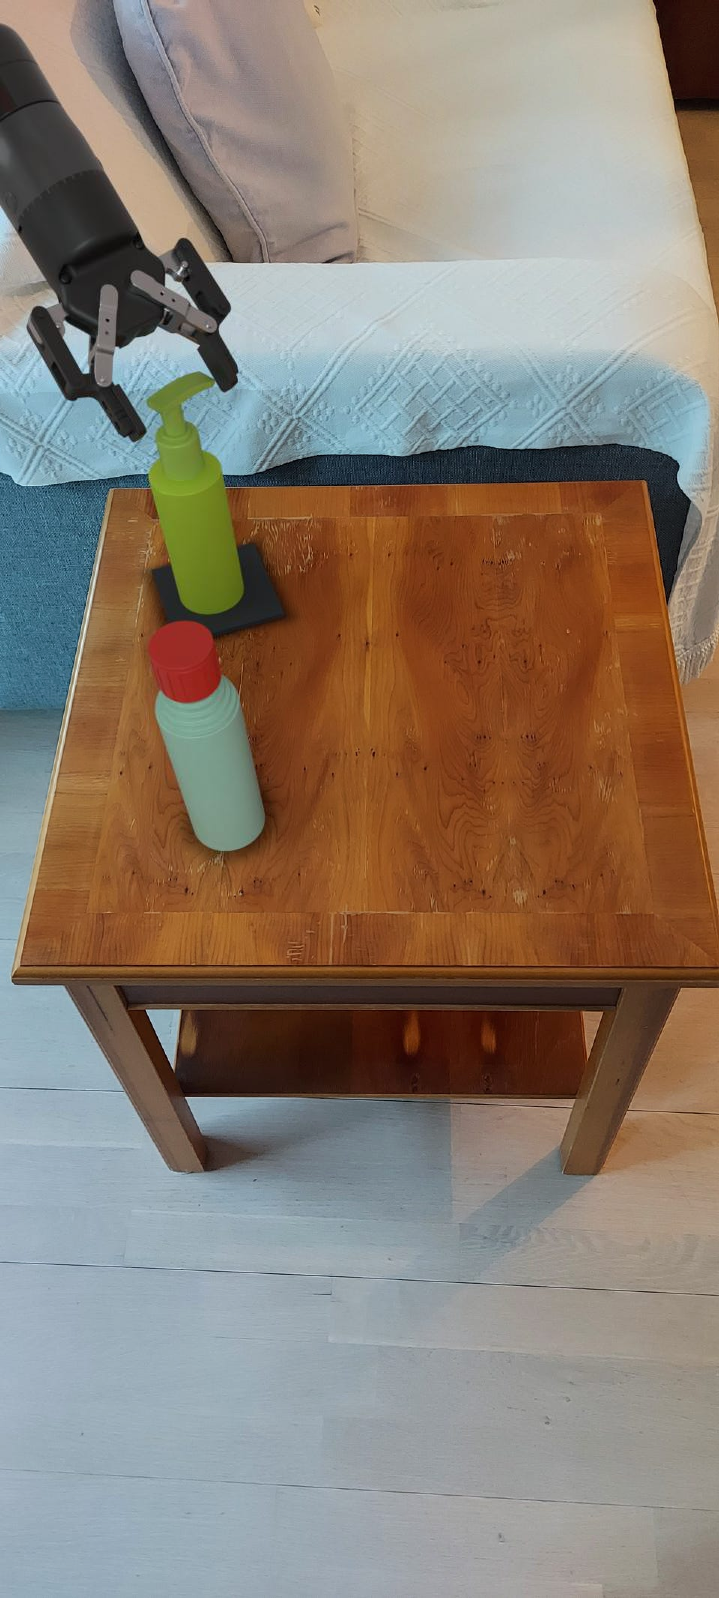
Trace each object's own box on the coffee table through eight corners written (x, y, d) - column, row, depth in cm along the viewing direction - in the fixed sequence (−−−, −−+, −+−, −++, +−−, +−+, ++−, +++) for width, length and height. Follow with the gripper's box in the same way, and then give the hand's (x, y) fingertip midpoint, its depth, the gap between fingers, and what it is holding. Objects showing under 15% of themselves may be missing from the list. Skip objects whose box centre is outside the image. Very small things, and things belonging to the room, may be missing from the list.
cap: (169, 652, 65) (159, 616, 63) (229, 659, 65) (221, 624, 62) (150, 699, 63) (138, 664, 60) (211, 707, 62) (202, 672, 60)
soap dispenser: (265, 582, 91) (233, 383, 75) (209, 624, 89) (163, 427, 72) (222, 554, 94) (181, 355, 77) (166, 594, 91) (111, 396, 74)
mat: (177, 647, 88) (176, 643, 87) (152, 574, 93) (150, 569, 93) (285, 617, 90) (284, 612, 89) (254, 546, 95) (253, 541, 94)
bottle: (207, 862, 75) (154, 699, 60) (183, 807, 78) (126, 638, 63) (276, 834, 76) (241, 666, 61) (249, 781, 79) (209, 608, 64)
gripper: (129, 191, 76) (243, 389, 81) (-35, 262, 71) (96, 469, 75) (155, 134, 69) (278, 353, 74) (-24, 208, 64) (120, 439, 69)
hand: (186, 412), depth 75 cm, fingers open, 8 cm apart
